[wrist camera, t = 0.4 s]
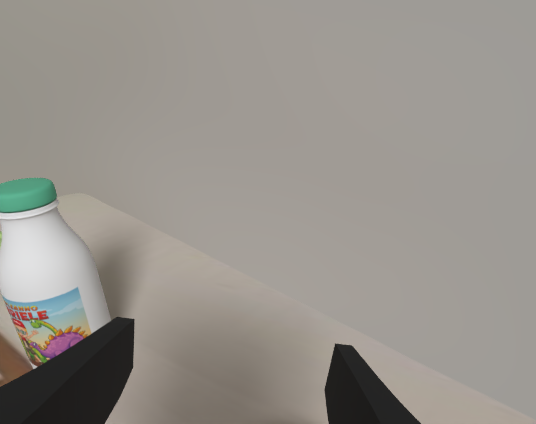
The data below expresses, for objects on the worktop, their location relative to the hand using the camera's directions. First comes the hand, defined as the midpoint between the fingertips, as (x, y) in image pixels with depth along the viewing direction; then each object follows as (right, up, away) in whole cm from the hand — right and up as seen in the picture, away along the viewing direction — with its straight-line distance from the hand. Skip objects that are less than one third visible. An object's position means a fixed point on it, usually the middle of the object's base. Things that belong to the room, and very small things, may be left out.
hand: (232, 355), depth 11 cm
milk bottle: (-20, -11, +23) cm, 32 cm away
